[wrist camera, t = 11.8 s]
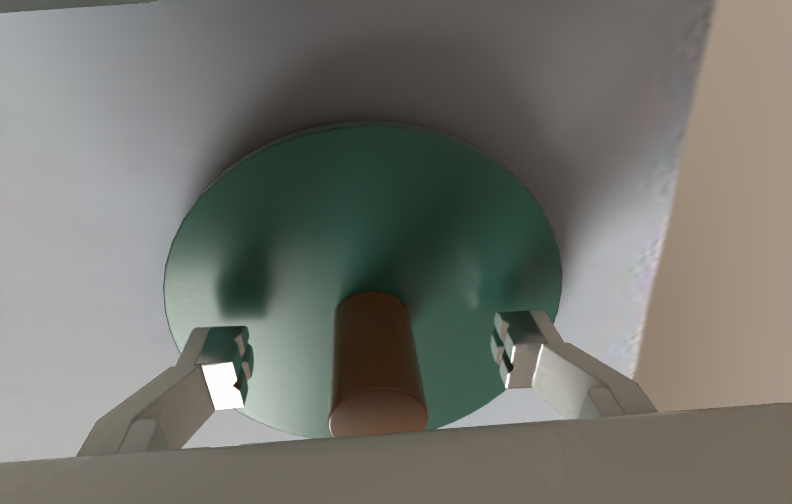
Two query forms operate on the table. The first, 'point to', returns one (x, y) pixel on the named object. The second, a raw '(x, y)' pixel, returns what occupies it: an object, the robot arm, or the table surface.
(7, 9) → the pot
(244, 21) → the table surface
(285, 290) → the lid
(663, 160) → the table surface
